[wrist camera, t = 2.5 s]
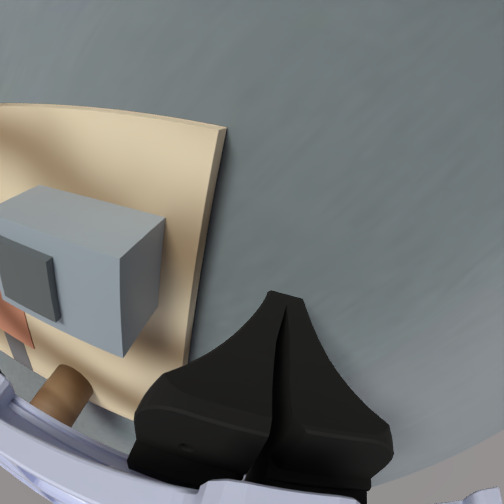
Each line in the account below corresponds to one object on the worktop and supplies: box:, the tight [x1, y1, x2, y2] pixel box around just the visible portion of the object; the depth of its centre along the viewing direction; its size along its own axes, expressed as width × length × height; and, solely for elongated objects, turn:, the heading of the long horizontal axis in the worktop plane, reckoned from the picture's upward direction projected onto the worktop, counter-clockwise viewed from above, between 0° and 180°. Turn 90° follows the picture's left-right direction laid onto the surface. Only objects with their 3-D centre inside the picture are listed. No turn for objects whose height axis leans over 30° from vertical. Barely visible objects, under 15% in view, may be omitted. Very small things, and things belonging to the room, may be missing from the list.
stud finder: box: [0, 185, 165, 358], centre depth 12 cm, size 4×7×4 cm, turn 78°
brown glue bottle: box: [30, 364, 93, 427], centre depth 16 cm, size 3×3×7 cm
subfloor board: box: [0, 103, 227, 421], centre depth 16 cm, size 20×20×1 cm
